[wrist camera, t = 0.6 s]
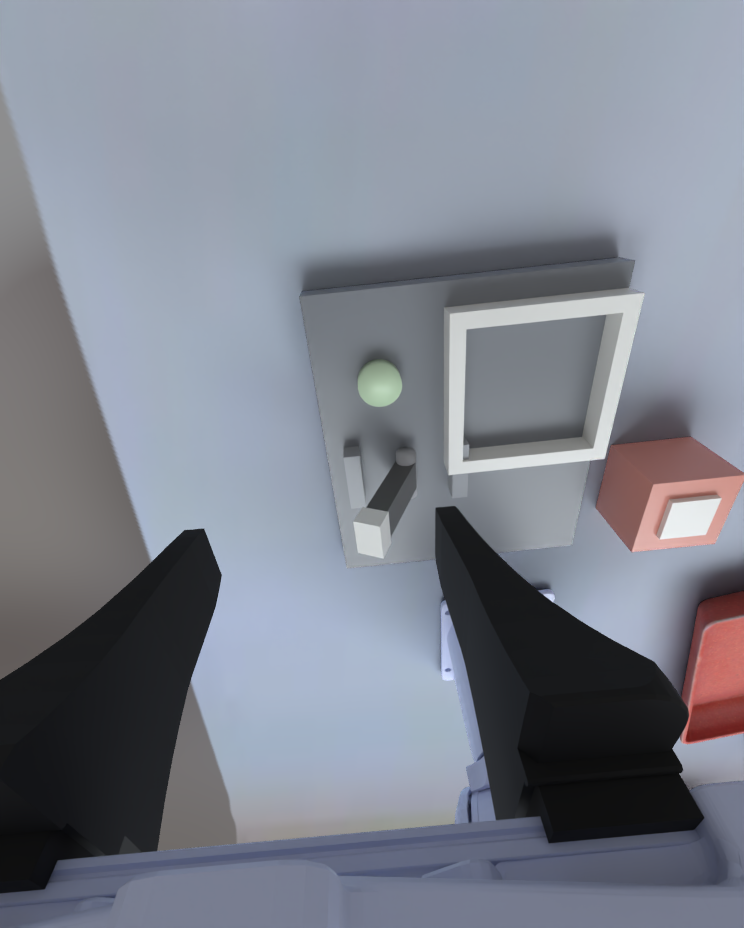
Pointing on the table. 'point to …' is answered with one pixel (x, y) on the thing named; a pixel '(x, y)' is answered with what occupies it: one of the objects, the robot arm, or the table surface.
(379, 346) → the panel
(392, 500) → the lever
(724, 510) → the pink cube
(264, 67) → the table surface
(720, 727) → the plant saucer
